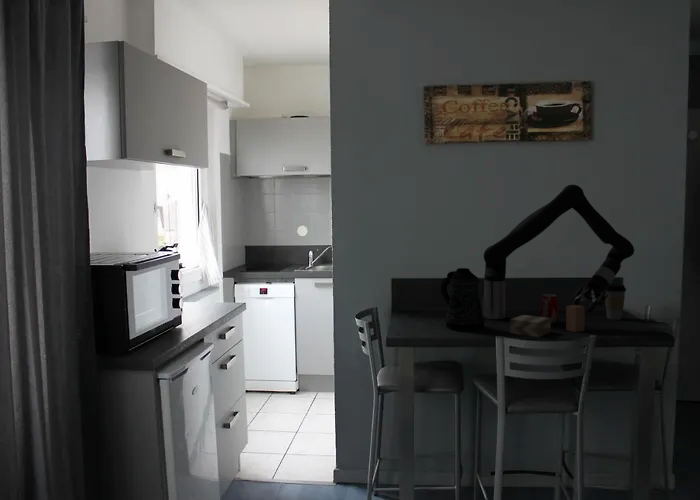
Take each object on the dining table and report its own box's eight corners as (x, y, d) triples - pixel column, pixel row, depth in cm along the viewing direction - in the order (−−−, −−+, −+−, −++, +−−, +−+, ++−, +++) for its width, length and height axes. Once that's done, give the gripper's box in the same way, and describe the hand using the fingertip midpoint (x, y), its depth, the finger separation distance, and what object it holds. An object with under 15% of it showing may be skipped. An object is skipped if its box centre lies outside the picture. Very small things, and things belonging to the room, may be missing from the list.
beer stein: (482, 332, 254) (483, 271, 252) (435, 330, 260) (435, 270, 258) (486, 324, 270) (486, 267, 268) (441, 322, 276) (441, 266, 274)
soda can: (558, 323, 270) (559, 296, 269) (541, 323, 271) (542, 296, 270) (556, 320, 277) (557, 294, 276) (540, 320, 278) (540, 293, 277)
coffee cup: (615, 321, 274) (616, 287, 273) (598, 317, 282) (598, 284, 281) (630, 319, 278) (631, 285, 277) (612, 315, 286) (613, 283, 285)
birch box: (509, 333, 253) (510, 319, 252) (522, 329, 262) (522, 314, 261) (538, 337, 245) (538, 322, 244) (550, 332, 254) (550, 318, 254)
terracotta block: (566, 329, 258) (566, 305, 257) (575, 328, 260) (575, 304, 259) (575, 331, 254) (575, 307, 253) (584, 330, 256) (584, 306, 255)
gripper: (583, 272, 266) (563, 301, 262) (610, 275, 254) (589, 306, 250) (592, 283, 269) (572, 312, 265) (619, 287, 256) (598, 318, 252)
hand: (580, 309), depth 257 cm, fingers open, 8 cm apart
